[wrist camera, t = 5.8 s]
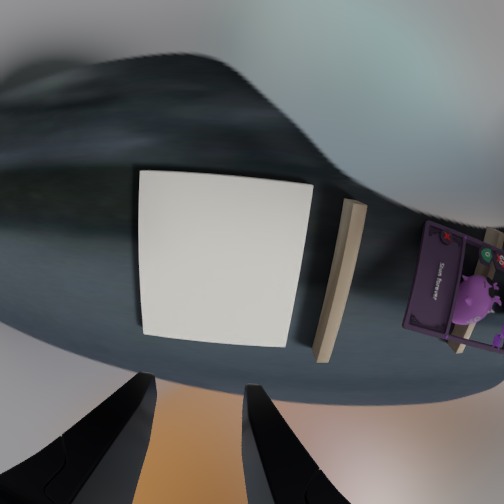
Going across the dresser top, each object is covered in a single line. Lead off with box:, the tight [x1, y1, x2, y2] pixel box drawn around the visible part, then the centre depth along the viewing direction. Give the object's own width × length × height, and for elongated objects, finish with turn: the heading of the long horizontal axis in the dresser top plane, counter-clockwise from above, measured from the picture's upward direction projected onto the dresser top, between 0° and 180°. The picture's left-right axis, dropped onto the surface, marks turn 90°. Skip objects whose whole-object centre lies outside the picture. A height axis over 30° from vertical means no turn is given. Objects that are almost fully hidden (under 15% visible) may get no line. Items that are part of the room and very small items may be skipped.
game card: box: [402, 220, 504, 354], centre depth 16 cm, size 7×5×9 cm
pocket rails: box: [312, 198, 504, 363], centre depth 17 cm, size 13×10×2 cm
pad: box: [138, 170, 313, 347], centre depth 17 cm, size 9×10×1 cm
